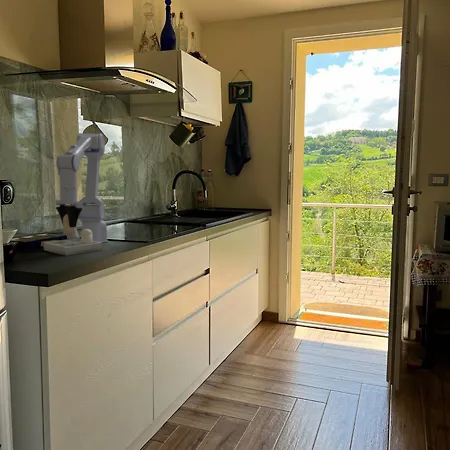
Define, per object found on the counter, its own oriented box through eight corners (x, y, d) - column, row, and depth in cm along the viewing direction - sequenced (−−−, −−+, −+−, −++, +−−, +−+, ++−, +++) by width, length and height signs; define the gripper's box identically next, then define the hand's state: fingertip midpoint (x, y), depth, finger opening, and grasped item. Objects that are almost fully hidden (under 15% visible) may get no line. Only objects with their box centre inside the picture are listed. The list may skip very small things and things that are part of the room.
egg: (71, 232, 166) (70, 213, 165) (77, 233, 163) (76, 214, 162) (61, 233, 163) (60, 213, 162) (67, 234, 160) (66, 214, 159)
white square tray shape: (79, 245, 179) (79, 225, 178) (102, 250, 170) (102, 229, 169) (44, 250, 168) (43, 228, 167) (66, 255, 158) (65, 232, 157)
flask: (82, 237, 199) (81, 214, 198) (77, 239, 192) (76, 216, 191) (65, 237, 199) (64, 214, 198) (59, 239, 192) (59, 216, 191)
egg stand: (57, 243, 181) (57, 240, 181) (66, 245, 177) (66, 242, 177) (40, 245, 176) (40, 242, 176) (49, 248, 172) (49, 244, 171)
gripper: (47, 187, 162) (48, 225, 164) (69, 189, 153) (70, 229, 155) (65, 187, 168) (66, 224, 170) (87, 189, 159) (88, 227, 160)
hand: (69, 226), depth 163 cm, fingers closed on egg, 4 cm apart
